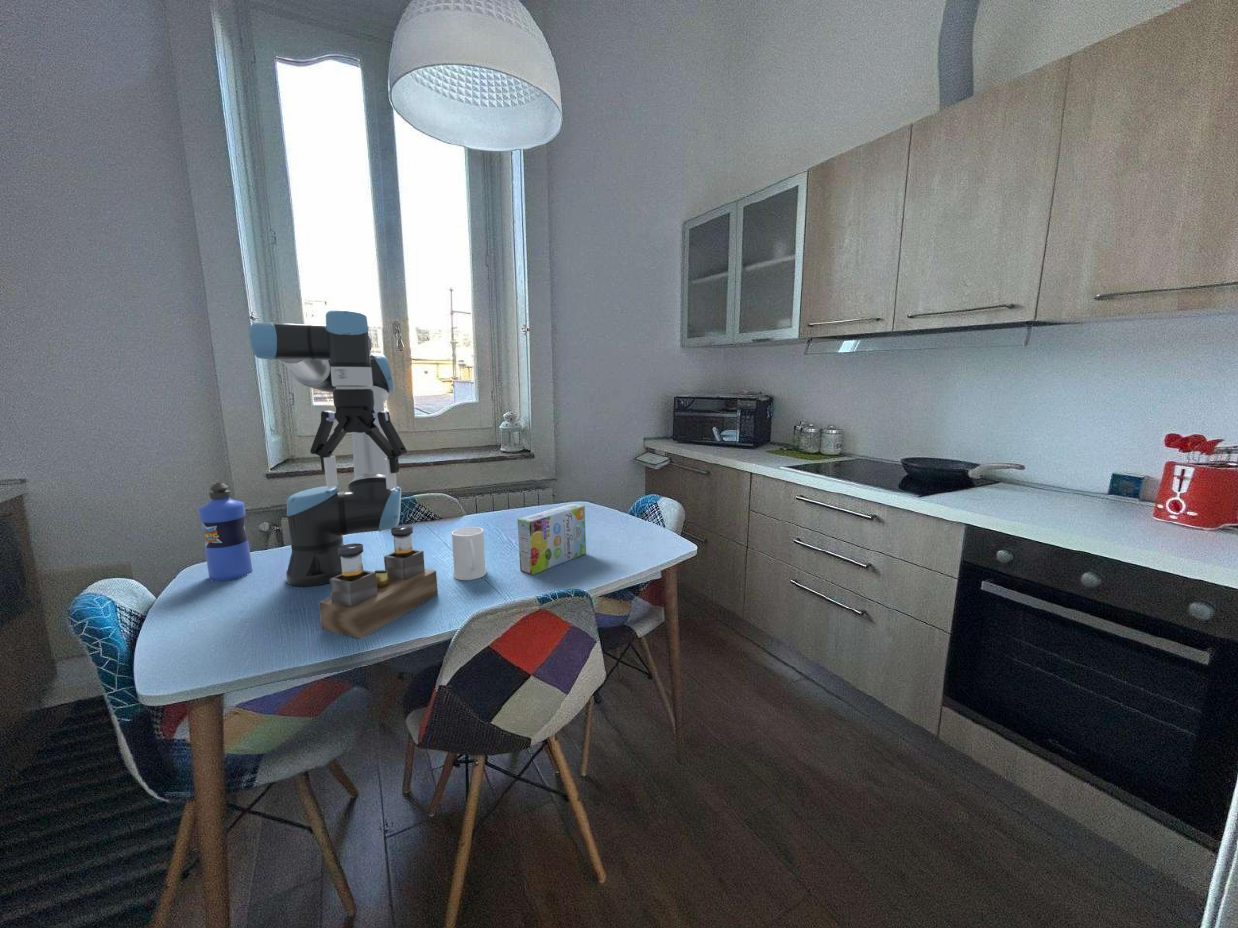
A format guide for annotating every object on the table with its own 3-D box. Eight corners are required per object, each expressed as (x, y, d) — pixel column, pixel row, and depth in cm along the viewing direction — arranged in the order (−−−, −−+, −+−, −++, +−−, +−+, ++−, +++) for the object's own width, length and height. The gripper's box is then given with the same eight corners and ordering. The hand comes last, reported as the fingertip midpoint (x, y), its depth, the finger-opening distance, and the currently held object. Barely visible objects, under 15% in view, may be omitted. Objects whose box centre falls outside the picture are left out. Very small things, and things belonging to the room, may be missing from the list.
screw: (371, 588, 106) (370, 573, 106) (378, 582, 109) (377, 568, 109) (385, 588, 106) (384, 573, 106) (391, 582, 109) (390, 568, 109)
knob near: (335, 584, 99) (332, 549, 98) (354, 576, 104) (351, 542, 102) (352, 587, 98) (349, 551, 97) (371, 579, 102) (368, 544, 101)
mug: (489, 582, 124) (487, 537, 122) (454, 587, 121) (451, 541, 119) (485, 566, 135) (483, 525, 133) (452, 570, 132) (450, 528, 130)
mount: (321, 629, 100) (316, 579, 99) (402, 587, 121) (398, 545, 119) (361, 638, 97) (356, 586, 95) (437, 594, 117) (434, 550, 115)
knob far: (389, 561, 112) (386, 529, 111) (404, 554, 117) (401, 524, 115) (404, 563, 111) (402, 532, 110) (419, 557, 115) (417, 526, 114)
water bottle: (224, 583, 123) (210, 488, 119) (199, 578, 126) (185, 485, 122) (261, 570, 132) (249, 481, 128) (237, 566, 135) (225, 478, 131)
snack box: (573, 550, 148) (572, 502, 146) (586, 554, 145) (586, 505, 142) (518, 570, 132) (516, 517, 130) (532, 575, 128) (530, 521, 126)
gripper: (283, 388, 98) (295, 489, 102) (400, 388, 96) (408, 492, 100) (309, 387, 106) (319, 481, 110) (419, 388, 104) (425, 484, 107)
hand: (362, 487), depth 105 cm, fingers open, 13 cm apart
